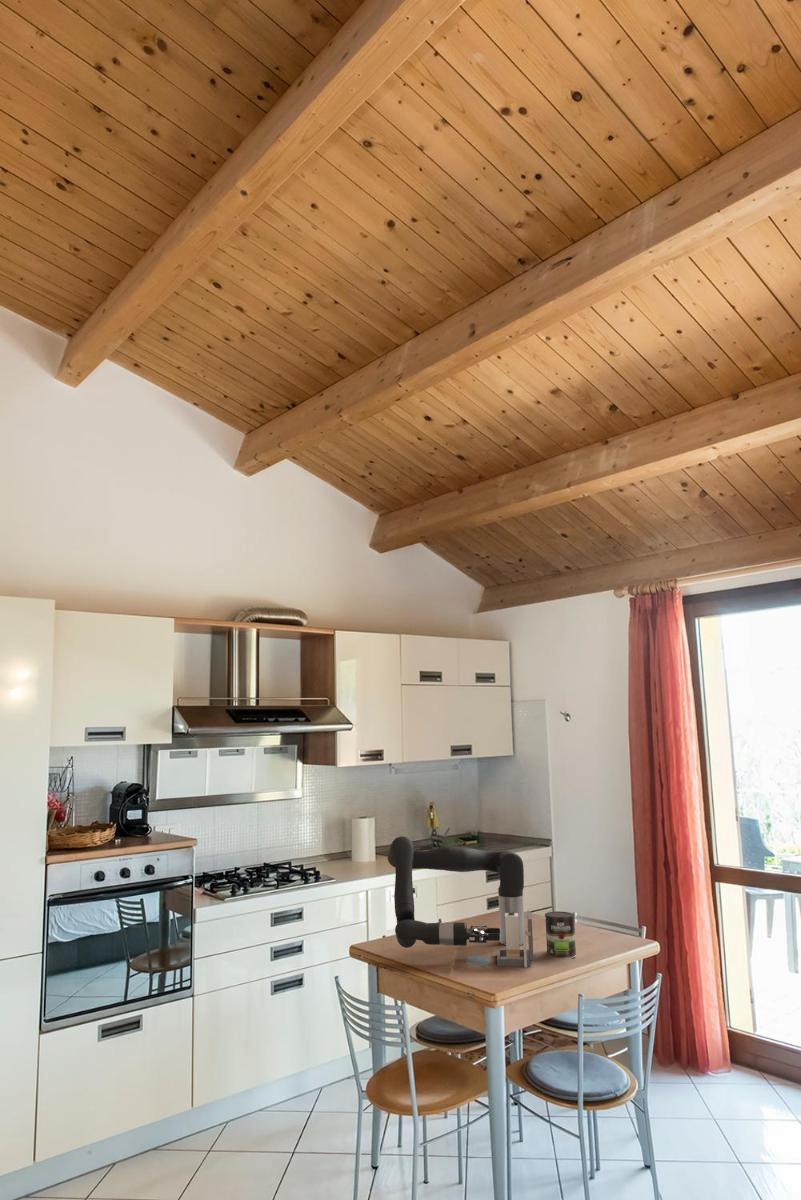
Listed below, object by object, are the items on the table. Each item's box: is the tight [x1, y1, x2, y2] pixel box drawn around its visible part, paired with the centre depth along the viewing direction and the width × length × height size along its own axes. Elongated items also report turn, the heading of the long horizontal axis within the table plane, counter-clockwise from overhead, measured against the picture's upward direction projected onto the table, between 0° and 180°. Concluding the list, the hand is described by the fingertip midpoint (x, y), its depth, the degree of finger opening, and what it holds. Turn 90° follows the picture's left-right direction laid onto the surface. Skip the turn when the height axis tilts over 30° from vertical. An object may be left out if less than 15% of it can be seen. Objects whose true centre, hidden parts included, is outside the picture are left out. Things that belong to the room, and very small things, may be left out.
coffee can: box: [544, 911, 577, 959], centre depth 290 cm, size 10×10×14 cm
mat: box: [465, 955, 491, 966], centre depth 281 cm, size 12×8×1 cm, turn 173°
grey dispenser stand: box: [496, 910, 535, 969], centre depth 280 cm, size 15×12×16 cm
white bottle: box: [505, 912, 521, 959], centre depth 281 cm, size 5×4×16 cm
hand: (499, 934), depth 282 cm, fingers open, 8 cm apart
